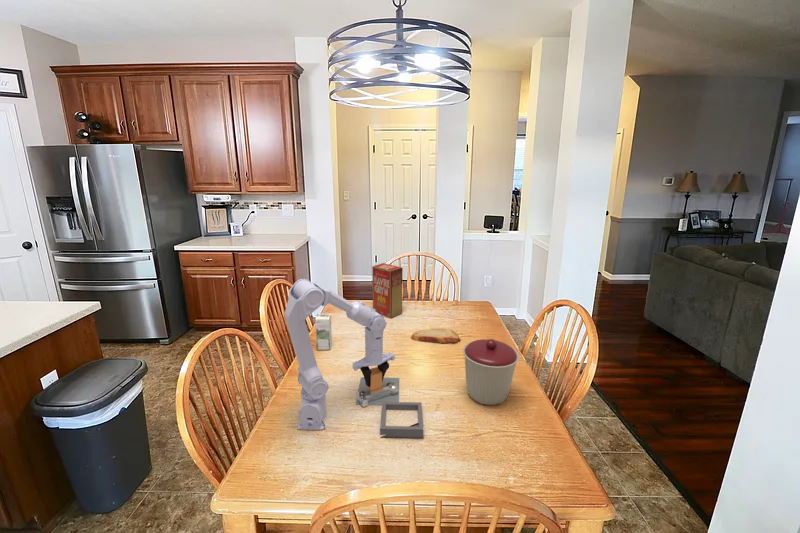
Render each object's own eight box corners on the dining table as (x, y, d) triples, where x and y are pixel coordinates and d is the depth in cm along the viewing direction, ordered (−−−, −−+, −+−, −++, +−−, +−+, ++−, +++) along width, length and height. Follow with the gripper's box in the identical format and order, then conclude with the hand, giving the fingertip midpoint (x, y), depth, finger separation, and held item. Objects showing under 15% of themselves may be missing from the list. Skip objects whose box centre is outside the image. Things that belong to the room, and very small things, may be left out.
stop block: (376, 382, 131) (376, 366, 129) (382, 388, 128) (382, 372, 126) (366, 385, 129) (366, 369, 127) (371, 391, 126) (371, 375, 124)
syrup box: (332, 344, 164) (331, 312, 160) (330, 350, 158) (329, 318, 154) (319, 344, 164) (317, 313, 160) (316, 350, 158) (314, 318, 154)
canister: (493, 376, 141) (498, 324, 135) (525, 405, 125) (532, 347, 119) (450, 386, 135) (453, 332, 129) (478, 418, 119) (483, 358, 113)
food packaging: (371, 312, 198) (371, 265, 191) (384, 306, 205) (384, 262, 198) (391, 319, 190) (391, 271, 183) (403, 313, 197) (403, 267, 190)
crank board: (398, 409, 123) (398, 402, 122) (355, 408, 123) (355, 401, 122) (399, 380, 138) (399, 374, 137) (360, 380, 138) (360, 374, 137)
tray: (423, 438, 110) (423, 429, 109) (380, 438, 110) (380, 428, 109) (421, 411, 122) (421, 402, 121) (382, 410, 122) (382, 401, 121)
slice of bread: (407, 338, 171) (407, 330, 170) (435, 327, 182) (435, 319, 181) (436, 353, 158) (436, 345, 157) (464, 340, 169) (465, 333, 168)
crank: (393, 387, 132) (393, 377, 131) (400, 395, 128) (401, 385, 126) (356, 399, 125) (356, 389, 124) (362, 407, 121) (362, 397, 120)
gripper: (387, 337, 131) (387, 372, 135) (348, 346, 124) (349, 383, 128) (397, 345, 125) (397, 382, 129) (357, 356, 118) (357, 394, 122)
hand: (374, 383), depth 128 cm, fingers closed on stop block, 4 cm apart
